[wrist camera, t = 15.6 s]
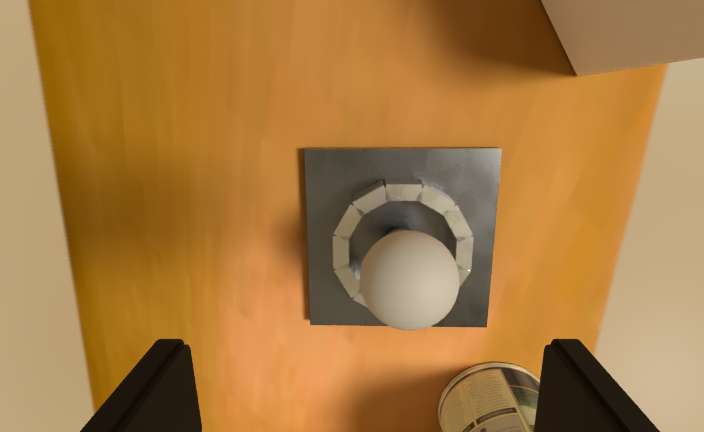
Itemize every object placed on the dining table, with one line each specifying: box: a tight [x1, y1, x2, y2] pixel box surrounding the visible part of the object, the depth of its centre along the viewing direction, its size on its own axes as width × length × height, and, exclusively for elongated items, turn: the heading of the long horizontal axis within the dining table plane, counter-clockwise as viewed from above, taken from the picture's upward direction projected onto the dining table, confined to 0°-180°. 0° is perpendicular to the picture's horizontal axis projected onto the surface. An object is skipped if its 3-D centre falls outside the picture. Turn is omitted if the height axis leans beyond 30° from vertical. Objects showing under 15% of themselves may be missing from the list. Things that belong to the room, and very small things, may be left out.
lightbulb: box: [359, 228, 459, 331], centre depth 28 cm, size 6×6×11 cm
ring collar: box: [304, 147, 502, 327], centre depth 33 cm, size 15×15×4 cm
